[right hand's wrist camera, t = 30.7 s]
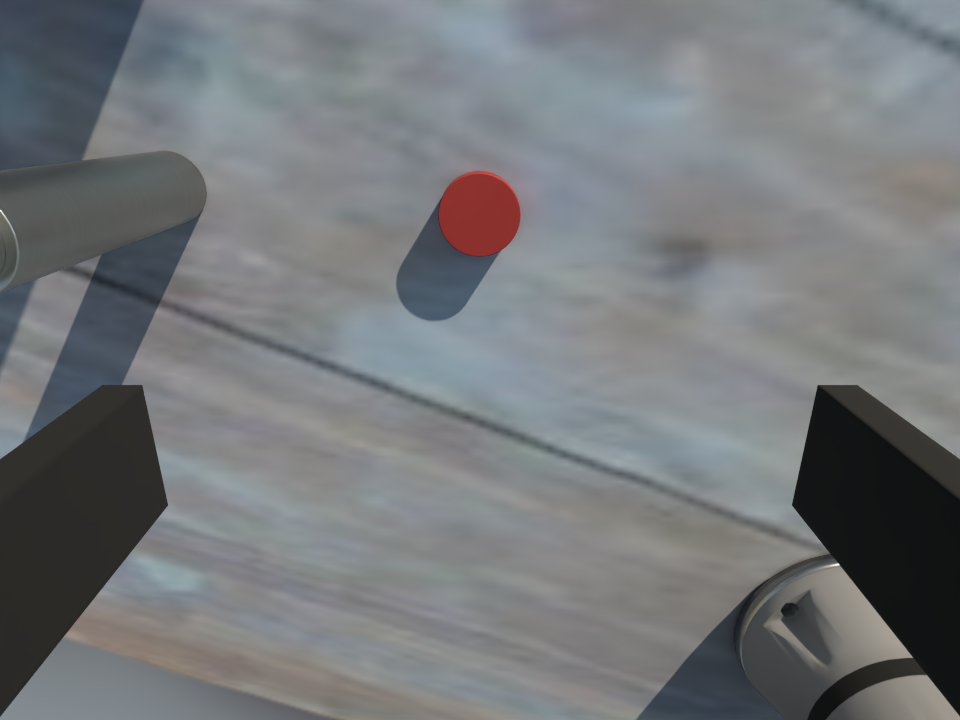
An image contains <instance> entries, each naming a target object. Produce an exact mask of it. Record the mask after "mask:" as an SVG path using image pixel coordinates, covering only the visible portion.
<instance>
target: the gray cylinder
mask: <svg viewBox="0 0 960 720" xmlns="http://www.w3.org/2000/svg"><path fill="white" fill-rule="evenodd" d="M205 201H206V187H205V183H204V180H203V177H202V175H201V173H200V172H199V170H198V169H197V168H196V166H195V165H194V164H193V163H192V162H191V161H189V160H188V159H187V158H185V157H184V156H182V155H180V154H177V153H174V152H170V151H157V152H149V153H141V154H132V155H124V156H116V157H108V158H99V159H91V160H83V161H75V162H66V163H58V164H50V165H42V166H33V167H25V168H17V169H9V170H0V293H1V292H4V291H6V290H9V289H12V288H14V287H17V286H20V285H22V284H25V283H28V282H30V281H33V280H35V279H38V278H41V277H43V276H46V275H49V274H51V273H54V272H57V271H59V270H62V269H65V268H67V267H70V266H73V265H75V264H78V263H81V262H83V261H86V260H89V259H91V258H94V257H97V256H99V255H102V254H105V253H107V252H110V251H113V250H115V249H118V248H121V247H123V246H126V245H129V244H131V243H134V242H137V241H139V240H142V239H144V238H147V237H150V236H152V235H155V234H158V233H160V232H163V231H166V230H168V229H171V228H174V227H176V226H179V225H182V224H184V223H187V222H190V221H191V220H193V219H195V218H196V217H197V216H198V215H199V214H200V213H201V211H202V209H203V207H204V205H205Z"/></svg>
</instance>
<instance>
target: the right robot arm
mask: <svg viewBox="0 0 960 720" xmlns="http://www.w3.org/2000/svg"><path fill="white" fill-rule="evenodd" d="M167 506H168V503H167V498H166V494H165V489H164V484H163V480H162V475H161V471H160V466H159V461H158V457H157V452H156V447H155V443H154V438H153V433H152V429H151V424H150V419H149V415H148V410H147V406H146V401H145V396H144V392H143V387H142V385H102V386H101V387H100V388H98V389H97V390H95V391H94V392H93V393H91V394H90V395H88V396H87V397H86V398H84V399H83V400H82V401H80V402H79V403H77V404H76V405H75V406H73V407H72V408H71V409H69V410H68V411H66V412H65V413H64V414H62V415H61V416H59V417H58V418H57V419H55V420H54V421H53V422H51V423H50V424H48V425H47V426H46V427H44V428H43V429H41V430H40V431H39V432H37V433H36V434H35V435H33V436H32V437H30V438H29V439H28V440H26V441H25V442H24V443H22V444H21V445H19V446H18V447H17V448H15V449H14V450H12V451H11V452H10V453H8V454H7V455H6V456H4V457H3V458H1V459H0V716H1V715H2V714H3V712H4V711H5V710H6V709H7V707H8V706H9V705H10V704H11V702H12V701H13V700H14V699H15V697H16V696H17V695H18V693H19V692H20V691H21V690H22V688H23V687H24V686H25V685H26V683H27V682H28V681H29V680H30V678H31V677H32V676H33V675H34V673H35V672H36V671H37V670H38V668H39V667H40V666H41V665H42V663H43V662H44V661H45V659H46V658H47V657H48V656H49V654H50V653H51V652H52V651H53V649H54V648H55V647H56V646H57V644H58V643H59V642H60V641H61V639H62V638H63V637H64V636H65V634H66V633H67V632H68V631H69V629H70V628H71V627H72V625H73V624H74V623H75V622H76V620H77V619H78V618H79V617H80V615H81V614H82V613H83V612H84V610H85V609H86V608H87V607H88V605H89V604H90V603H91V602H92V600H93V599H94V598H95V597H96V595H97V594H98V593H99V591H100V590H101V589H102V588H103V586H104V585H105V584H106V583H107V581H108V580H109V579H110V578H111V576H112V575H113V574H114V573H115V571H116V570H117V569H118V568H119V566H120V565H121V564H122V563H123V561H124V560H125V559H126V557H127V556H128V555H129V554H130V552H131V551H132V550H133V549H134V547H135V546H136V545H137V544H138V542H139V541H140V540H141V539H142V537H143V536H144V535H145V534H146V532H147V531H148V530H149V529H150V527H151V526H152V525H153V523H154V522H155V521H156V520H157V518H158V517H159V516H160V515H161V513H162V512H163V511H164V510H165V508H166V507H167ZM792 506H793V507H794V508H795V510H796V511H797V512H798V513H799V515H800V516H801V517H802V518H803V520H804V521H805V522H806V523H807V525H808V526H809V527H810V529H811V530H812V531H813V532H814V534H815V535H816V536H817V537H818V539H819V540H820V541H821V542H822V544H823V545H824V546H825V547H826V549H827V550H828V551H829V552H830V554H829V555H824V556H819V557H815V558H811V559H808V560H805V561H802V562H799V563H797V564H795V565H792V566H790V567H788V568H786V569H784V570H783V571H781V572H779V573H778V574H776V575H775V576H773V577H772V578H770V579H769V580H768V581H766V582H765V583H764V584H763V585H762V586H761V587H760V588H759V589H758V590H757V591H756V592H755V593H754V594H753V595H752V596H751V598H750V599H749V600H748V602H747V603H746V604H745V606H744V608H743V610H742V611H741V613H740V616H739V618H738V621H737V625H736V629H735V649H736V652H737V656H738V658H739V661H740V663H741V665H742V667H743V669H744V671H745V673H746V675H747V677H748V679H749V680H750V681H751V683H752V684H753V686H754V687H755V688H756V690H757V691H758V692H759V693H760V694H761V695H762V696H763V697H764V698H765V699H766V700H767V701H768V702H769V703H770V704H771V705H772V706H773V708H774V709H775V710H776V711H777V712H778V713H779V714H780V715H781V716H782V717H783V718H784V719H785V720H960V459H959V458H957V457H956V456H954V455H953V454H952V453H950V452H949V451H948V450H946V449H945V448H943V447H942V446H941V445H939V444H938V443H936V442H935V441H934V440H932V439H931V438H930V437H928V436H927V435H925V434H924V433H923V432H921V431H920V430H919V429H917V428H916V427H914V426H913V425H912V424H910V423H909V422H907V421H906V420H905V419H903V418H902V417H901V416H899V415H898V414H896V413H895V412H894V411H892V410H891V409H889V408H888V407H887V406H885V405H884V404H883V403H881V402H880V401H878V400H877V399H876V398H874V397H873V396H872V395H870V394H869V393H867V392H866V391H865V390H863V389H862V388H860V387H859V386H858V385H818V387H817V392H816V396H815V401H814V406H813V410H812V415H811V419H810V424H809V429H808V433H807V438H806V443H805V447H804V452H803V457H802V461H801V466H800V471H799V475H798V480H797V484H796V489H795V494H794V498H793V503H792Z"/></svg>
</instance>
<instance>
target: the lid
mask: <svg viewBox="0 0 960 720" xmlns="http://www.w3.org/2000/svg"><path fill="white" fill-rule="evenodd" d="M438 217H439V224H440V228H441V230H442V233H443V235H444V237H445V238H446V240H447V241H448V242H449V243H450V244H451V245H452V246H453V247H454V248H455V249H457V250H458V251H460V252H462V253H464V254H467V255H470V256H488V255H492V254H495V253H497V252H499V251H501V250H502V249H503V248H505V247H506V246H507V245H508V244H509V243H510V242H511V241H512V239H513V238H514V236H515V235H516V232H517V230H518V227H519V223H520V207H519V203H518V200H517V197H516V195H515V193H514V191H513V189H512V188H511V187H510V185H509V184H508V183H507V182H506V181H505V180H503V179H502V178H501V177H499V176H497V175H495V174H492V173H489V172H484V171H475V172H470V173H466V174H464V175H462V176H460V177H458V178H457V179H455V180H454V181H453V182H452V183H451V184H450V185H449V186H448V188H447V189H446V191H445V193H444V195H443V197H442V199H441V202H440V206H439V216H438Z"/></svg>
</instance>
